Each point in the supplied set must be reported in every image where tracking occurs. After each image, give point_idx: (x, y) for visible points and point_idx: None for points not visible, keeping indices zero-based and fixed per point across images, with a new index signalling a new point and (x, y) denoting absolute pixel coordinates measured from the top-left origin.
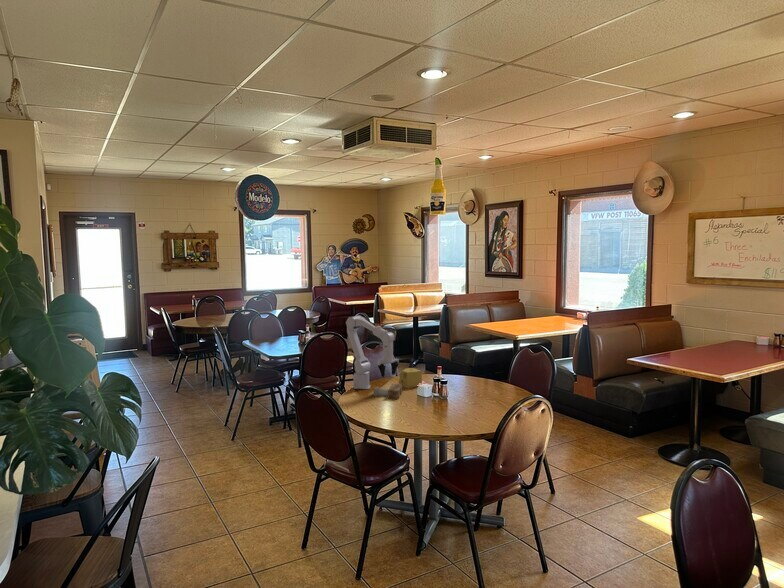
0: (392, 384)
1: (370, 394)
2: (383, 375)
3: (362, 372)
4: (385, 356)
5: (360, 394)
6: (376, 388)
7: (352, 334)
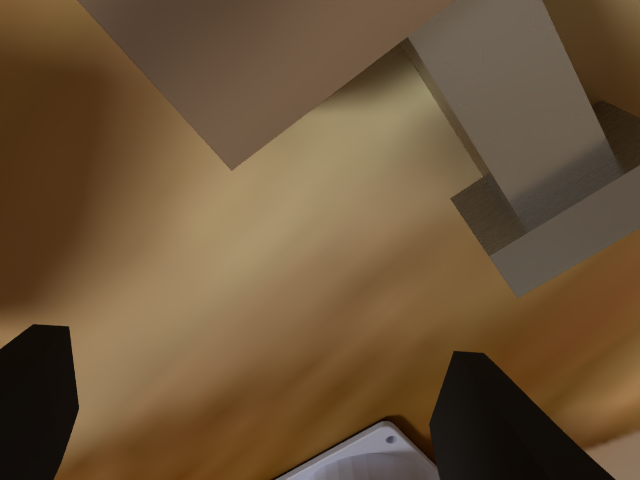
0: (248, 136)
1: None
2: (510, 382)
3: None
4: None
5: (630, 324)
6: (632, 195)
7: None
